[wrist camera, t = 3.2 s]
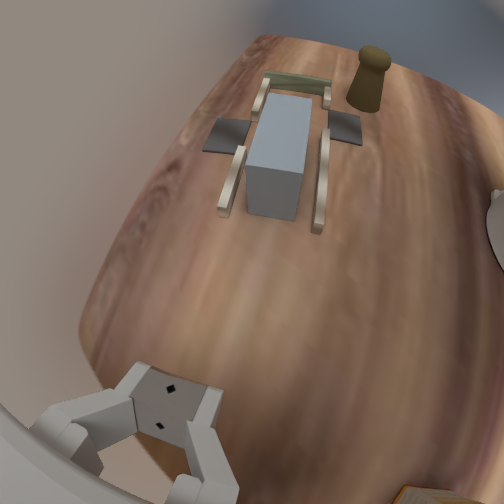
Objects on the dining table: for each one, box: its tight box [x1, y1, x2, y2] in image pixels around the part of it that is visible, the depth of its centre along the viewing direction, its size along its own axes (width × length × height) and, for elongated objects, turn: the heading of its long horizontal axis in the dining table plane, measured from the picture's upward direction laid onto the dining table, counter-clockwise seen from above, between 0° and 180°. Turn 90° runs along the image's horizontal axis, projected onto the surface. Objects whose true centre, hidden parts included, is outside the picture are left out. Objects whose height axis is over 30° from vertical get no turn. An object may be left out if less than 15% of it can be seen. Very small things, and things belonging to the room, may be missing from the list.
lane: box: [203, 71, 362, 234], centre depth 34 cm, size 28×21×3 cm
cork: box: [346, 46, 391, 113], centre depth 35 cm, size 6×6×11 cm
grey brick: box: [245, 93, 312, 222], centre depth 29 cm, size 12×5×8 cm, turn 168°
